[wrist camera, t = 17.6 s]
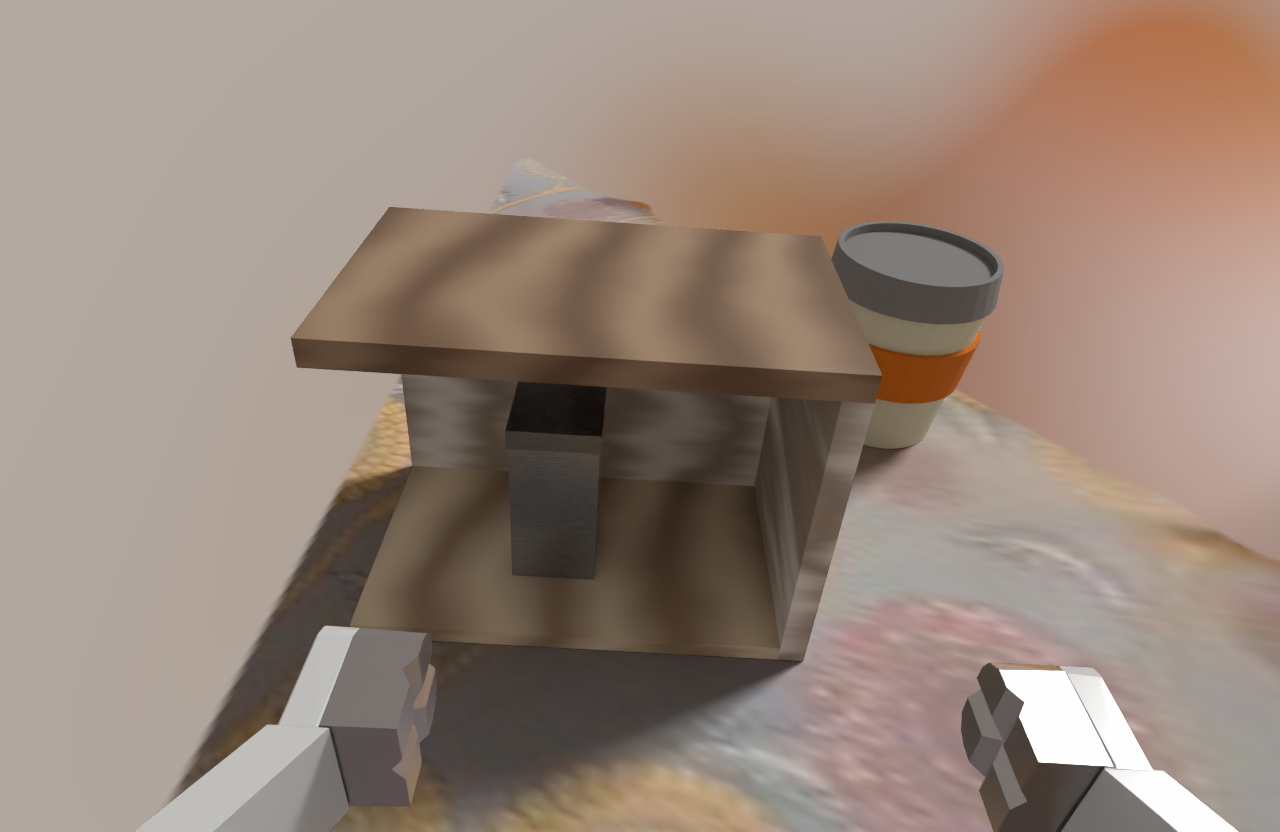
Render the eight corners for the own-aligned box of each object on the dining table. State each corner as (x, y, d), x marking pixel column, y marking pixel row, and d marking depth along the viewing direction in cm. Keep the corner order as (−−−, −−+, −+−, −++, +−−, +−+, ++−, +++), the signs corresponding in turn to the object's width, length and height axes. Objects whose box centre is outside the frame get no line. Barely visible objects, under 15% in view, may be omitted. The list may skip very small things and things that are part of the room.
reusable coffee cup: (770, 393, 71) (801, 230, 62) (881, 367, 76) (923, 212, 67) (863, 478, 62) (914, 300, 53) (982, 441, 67) (1046, 274, 58)
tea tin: (599, 523, 54) (607, 384, 48) (595, 581, 50) (602, 436, 43) (521, 519, 54) (518, 379, 48) (510, 576, 50) (505, 430, 43)
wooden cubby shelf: (770, 485, 60) (820, 236, 49) (803, 661, 47) (882, 375, 36) (418, 463, 59) (389, 206, 48) (351, 636, 46) (290, 338, 35)
